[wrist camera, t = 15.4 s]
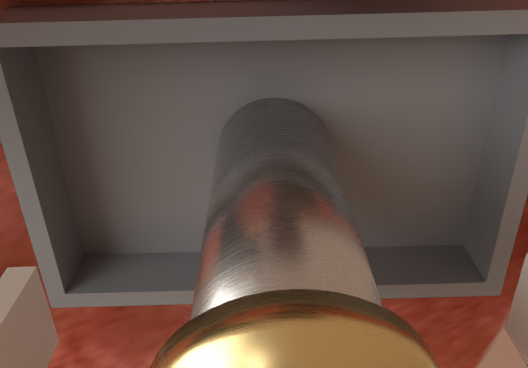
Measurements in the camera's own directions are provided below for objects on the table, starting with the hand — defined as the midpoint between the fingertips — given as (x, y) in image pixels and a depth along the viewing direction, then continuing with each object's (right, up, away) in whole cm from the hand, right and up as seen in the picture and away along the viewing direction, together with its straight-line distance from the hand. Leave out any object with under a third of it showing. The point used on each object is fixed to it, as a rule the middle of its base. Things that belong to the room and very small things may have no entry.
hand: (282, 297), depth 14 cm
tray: (0, +5, +9) cm, 10 cm away
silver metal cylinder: (0, +5, +9) cm, 10 cm away
